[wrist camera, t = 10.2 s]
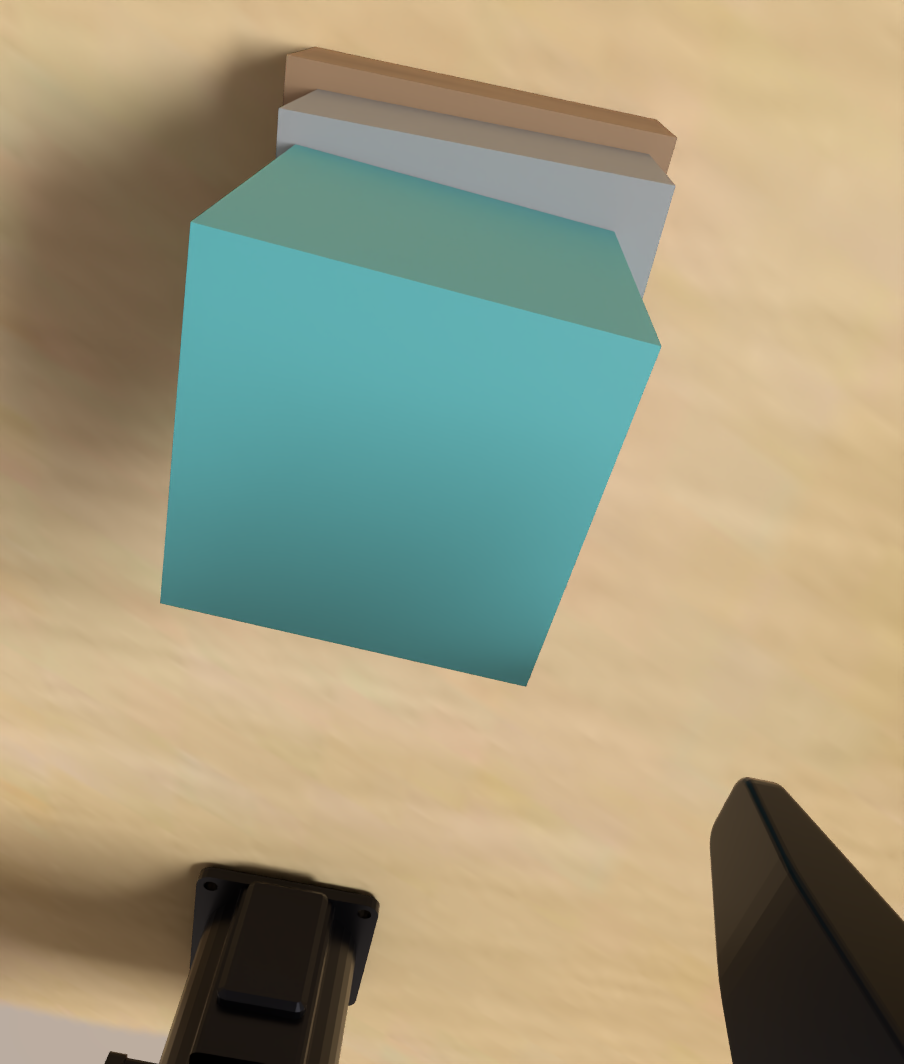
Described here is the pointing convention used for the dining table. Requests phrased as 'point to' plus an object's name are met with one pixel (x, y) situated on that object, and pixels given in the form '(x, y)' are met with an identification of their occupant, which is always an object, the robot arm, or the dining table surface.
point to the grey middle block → (494, 164)
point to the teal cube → (395, 411)
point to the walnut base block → (473, 101)
